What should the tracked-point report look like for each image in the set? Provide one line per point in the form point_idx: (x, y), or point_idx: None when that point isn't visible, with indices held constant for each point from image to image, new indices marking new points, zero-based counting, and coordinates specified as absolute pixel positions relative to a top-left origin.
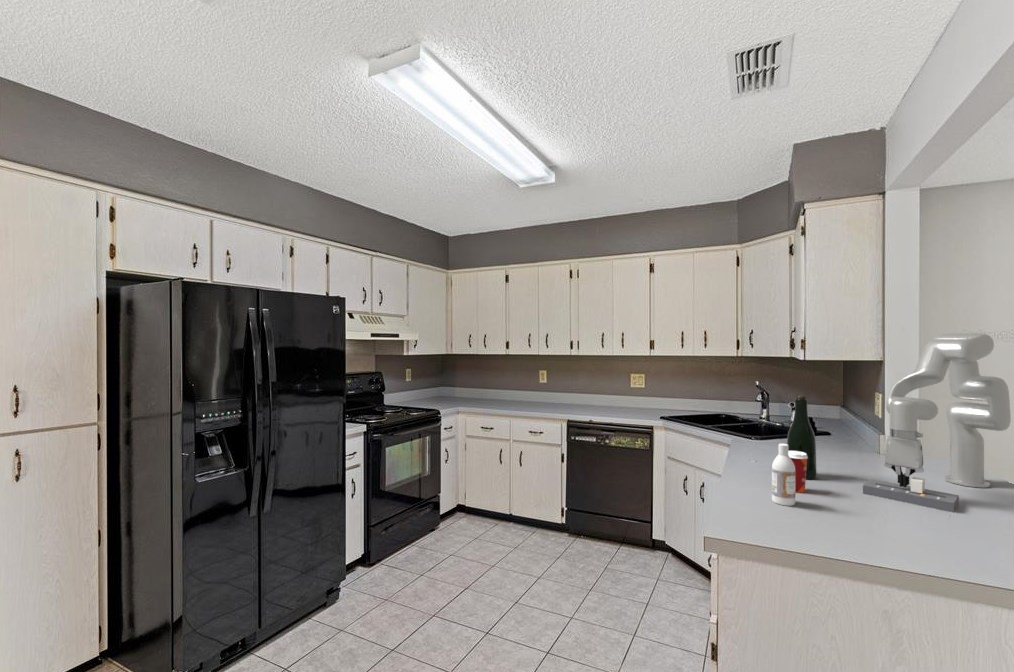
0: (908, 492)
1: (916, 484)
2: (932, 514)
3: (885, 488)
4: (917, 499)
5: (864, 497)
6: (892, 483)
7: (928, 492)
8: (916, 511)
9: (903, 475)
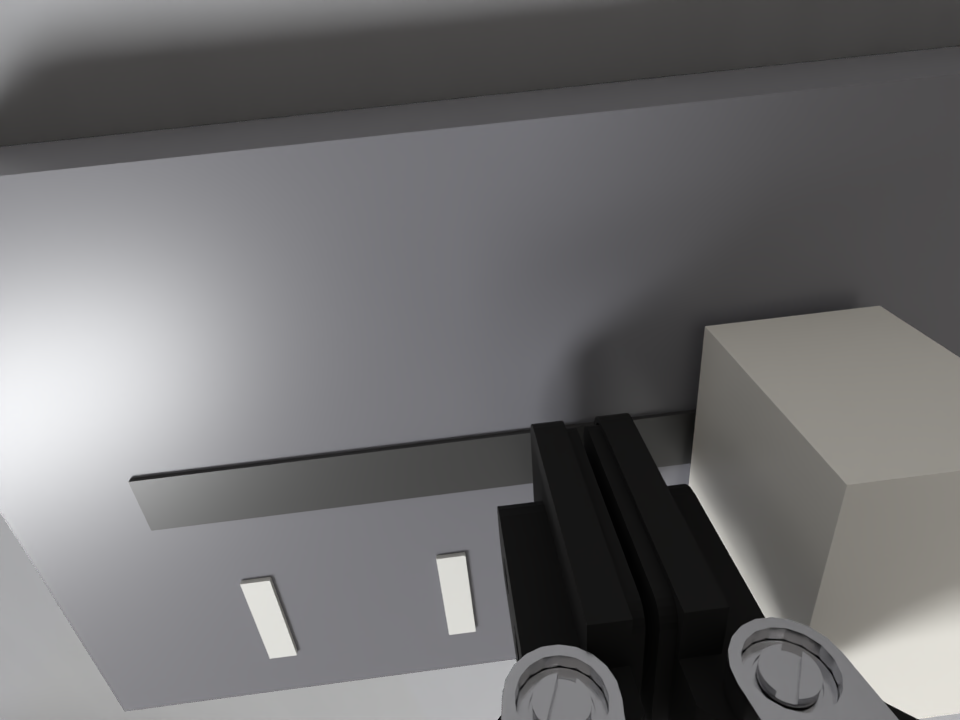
0: None
1: None
2: None
3: (380, 630)
4: None
5: (268, 698)
6: (297, 216)
7: (918, 324)
8: None
9: (638, 656)
